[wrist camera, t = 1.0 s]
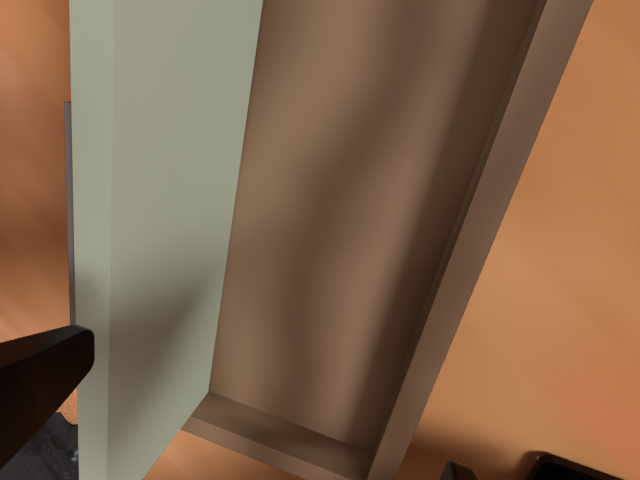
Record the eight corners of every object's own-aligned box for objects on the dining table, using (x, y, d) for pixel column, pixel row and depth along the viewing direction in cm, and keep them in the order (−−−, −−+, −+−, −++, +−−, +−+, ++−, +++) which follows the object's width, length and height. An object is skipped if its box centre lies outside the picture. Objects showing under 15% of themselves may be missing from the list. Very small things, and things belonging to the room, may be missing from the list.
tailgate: (279, -119, 14) (120, -342, 7) (208, 391, 23) (105, 528, 16) (233, -126, 15) (33, -348, 7) (180, 381, 24) (67, 510, 16)
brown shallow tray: (606, -96, 13) (655, -150, 10) (388, 458, 23) (382, 510, 20) (266, -147, 15) (228, -204, 12) (199, 385, 25) (168, 424, 22)
